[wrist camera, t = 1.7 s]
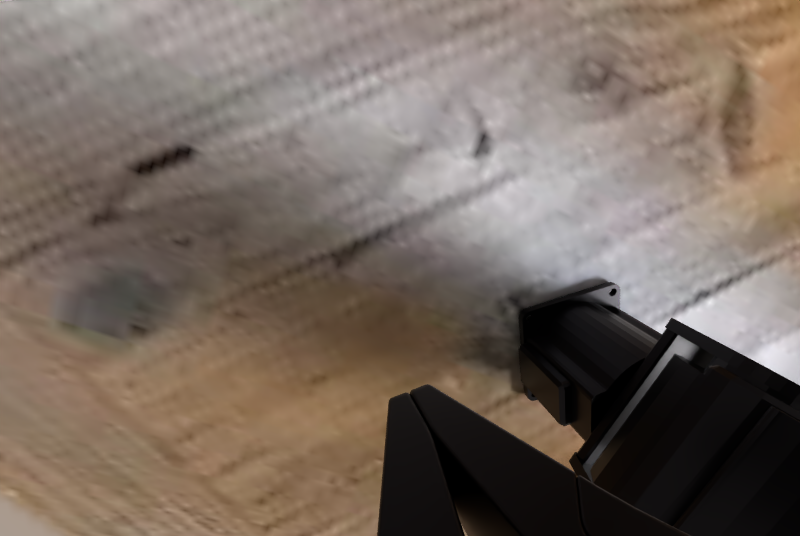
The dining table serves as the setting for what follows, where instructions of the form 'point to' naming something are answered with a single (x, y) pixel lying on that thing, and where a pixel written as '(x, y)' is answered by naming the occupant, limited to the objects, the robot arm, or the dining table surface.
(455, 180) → the dining table surface
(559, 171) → the dining table surface
